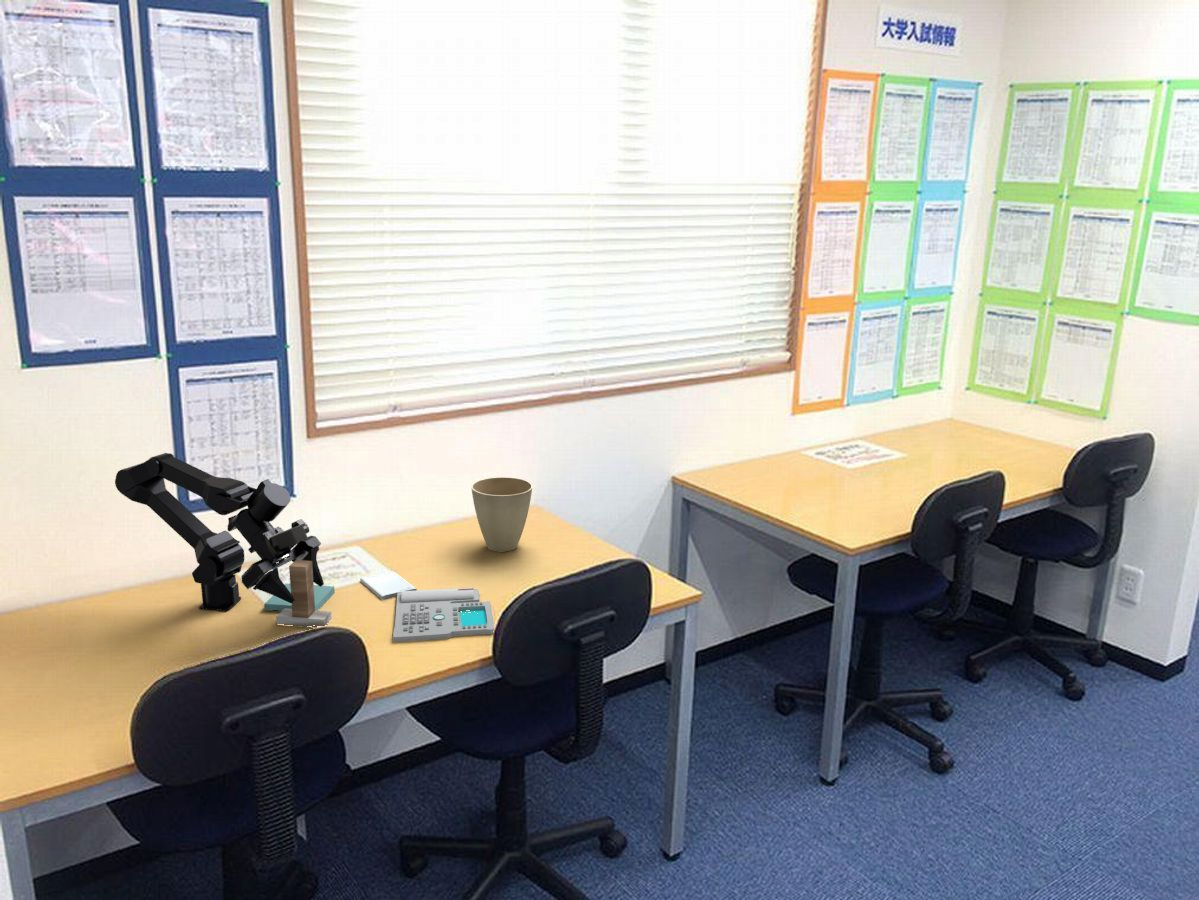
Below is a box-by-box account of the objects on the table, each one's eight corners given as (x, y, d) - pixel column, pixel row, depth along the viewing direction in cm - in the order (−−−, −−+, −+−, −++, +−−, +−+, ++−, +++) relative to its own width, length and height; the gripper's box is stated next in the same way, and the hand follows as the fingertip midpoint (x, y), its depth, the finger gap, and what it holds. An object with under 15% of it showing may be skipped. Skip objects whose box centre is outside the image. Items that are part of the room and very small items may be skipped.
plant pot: (459, 549, 245) (458, 487, 241) (498, 532, 257) (497, 473, 253) (507, 562, 237) (506, 498, 233) (544, 544, 249) (544, 483, 245)
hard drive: (417, 588, 219) (393, 570, 229) (382, 596, 215) (359, 577, 225) (417, 595, 220) (394, 576, 230) (382, 603, 215) (360, 584, 225)
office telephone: (396, 585, 217) (488, 581, 220) (396, 597, 218) (488, 592, 221) (392, 630, 195) (495, 625, 198) (393, 643, 196) (495, 637, 199)
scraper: (324, 628, 201) (320, 568, 198) (276, 625, 202) (272, 565, 199) (331, 620, 205) (328, 561, 201) (285, 617, 206) (280, 558, 202)
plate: (264, 610, 209) (264, 603, 208) (286, 589, 219) (285, 583, 219) (315, 613, 208) (314, 607, 207) (334, 592, 218) (334, 586, 218)
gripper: (248, 525, 190) (299, 588, 189) (311, 498, 207) (357, 556, 206) (219, 557, 195) (268, 619, 194) (282, 528, 212) (328, 585, 211)
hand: (308, 593), depth 201 cm, fingers open, 9 cm apart
